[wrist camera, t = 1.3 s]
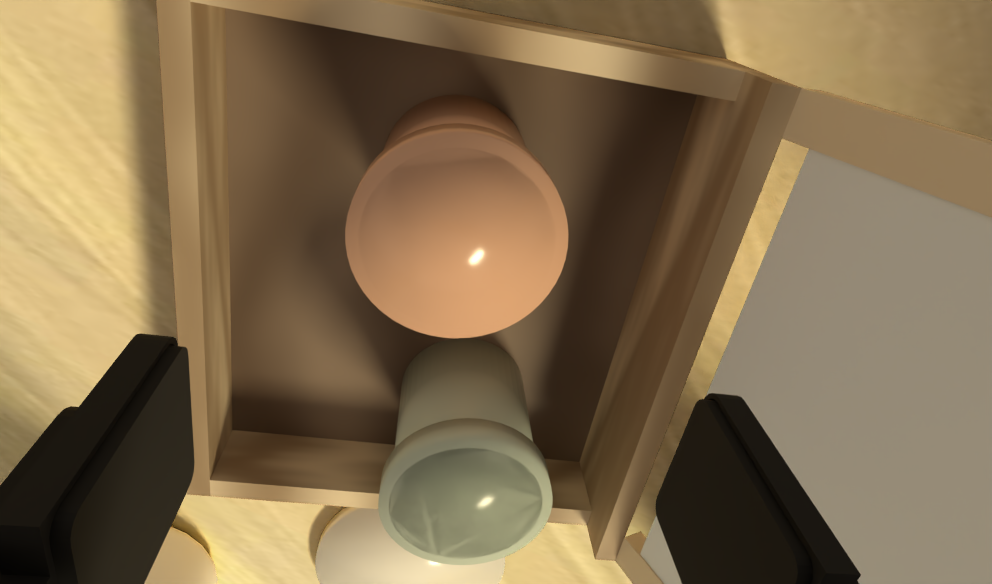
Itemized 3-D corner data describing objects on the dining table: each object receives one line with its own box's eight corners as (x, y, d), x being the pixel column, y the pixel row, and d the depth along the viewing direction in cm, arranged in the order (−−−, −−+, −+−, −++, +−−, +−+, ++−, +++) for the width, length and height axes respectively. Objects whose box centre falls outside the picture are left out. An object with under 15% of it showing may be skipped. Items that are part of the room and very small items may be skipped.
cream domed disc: (520, 496, 36) (521, 507, 35) (487, 618, 41) (487, 630, 40) (322, 479, 34) (320, 491, 34) (313, 609, 39) (310, 621, 39)
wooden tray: (727, 59, 25) (801, 88, 20) (590, 469, 35) (615, 560, 30) (200, -43, 22) (122, -41, 17) (215, 435, 32) (170, 529, 27)
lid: (801, 88, 20) (821, 90, 20) (615, 560, 30) (631, 554, 30) (2867, 702, 5) (2755, 655, 6) (1124, 1224, 15) (1139, 1191, 16)
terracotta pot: (554, 100, 25) (592, 154, 18) (520, 255, 28) (542, 349, 21) (380, 69, 24) (354, 115, 17) (365, 233, 27) (338, 325, 20)
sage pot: (544, 339, 30) (570, 448, 24) (516, 447, 33) (532, 569, 27) (401, 322, 29) (387, 431, 23) (386, 435, 32) (370, 559, 26)
